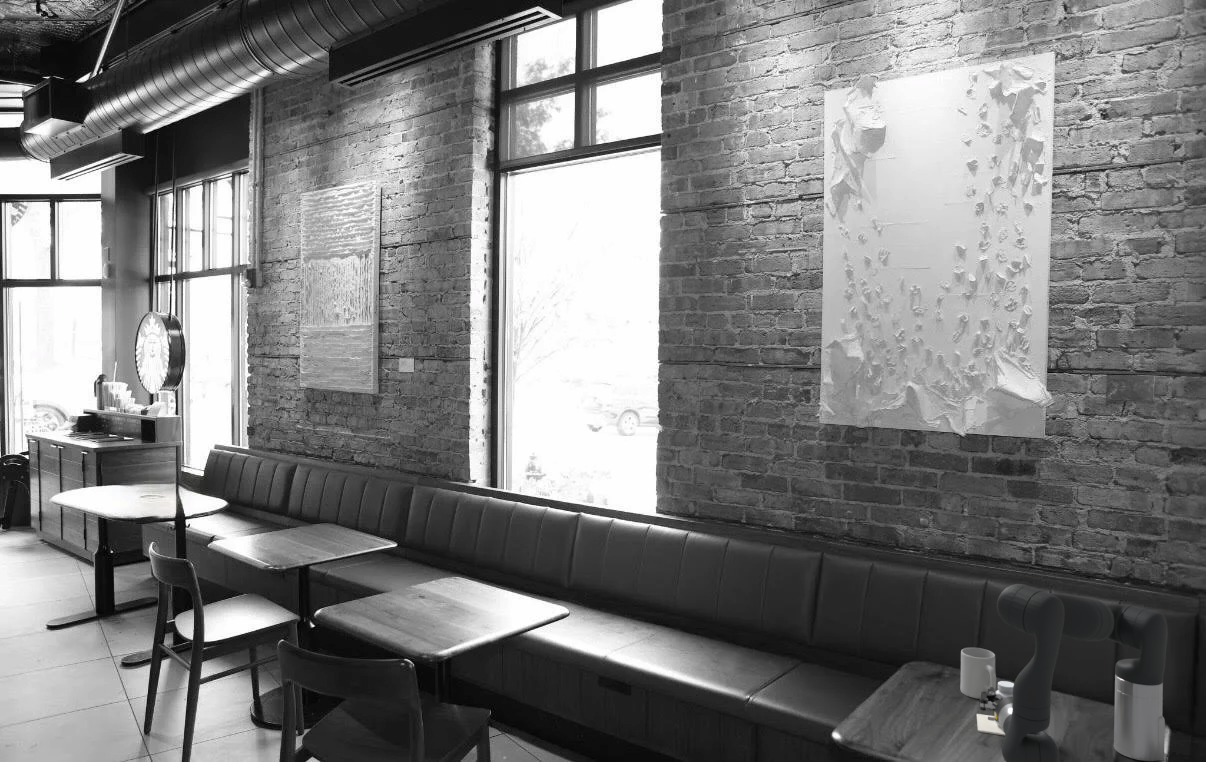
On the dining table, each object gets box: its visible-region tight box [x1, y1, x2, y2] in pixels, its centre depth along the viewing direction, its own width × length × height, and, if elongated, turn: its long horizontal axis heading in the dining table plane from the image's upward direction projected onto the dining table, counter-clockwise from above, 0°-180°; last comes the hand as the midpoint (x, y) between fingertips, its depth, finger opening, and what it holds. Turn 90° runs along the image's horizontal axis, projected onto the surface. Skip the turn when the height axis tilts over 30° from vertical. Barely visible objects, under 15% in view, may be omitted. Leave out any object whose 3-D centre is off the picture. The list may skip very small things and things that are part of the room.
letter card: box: [976, 713, 1005, 737], centre depth 207 cm, size 13×10×1 cm
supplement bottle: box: [993, 680, 1015, 725], centre depth 206 cm, size 5×5×10 cm
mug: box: [959, 647, 997, 700], centre depth 226 cm, size 12×8×11 cm
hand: (1005, 692), depth 209 cm, fingers open, 5 cm apart
